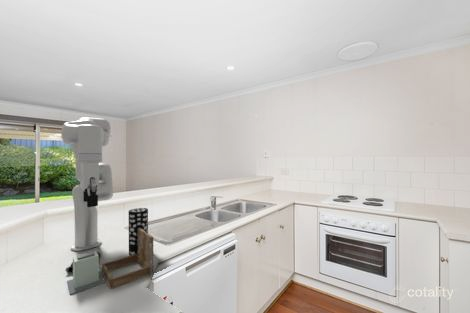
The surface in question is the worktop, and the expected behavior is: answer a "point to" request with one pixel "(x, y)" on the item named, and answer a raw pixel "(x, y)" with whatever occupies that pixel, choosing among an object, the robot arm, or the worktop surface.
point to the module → (85, 269)
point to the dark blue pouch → (70, 268)
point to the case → (142, 258)
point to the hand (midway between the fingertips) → (90, 203)
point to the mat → (84, 287)
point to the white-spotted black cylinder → (136, 227)
